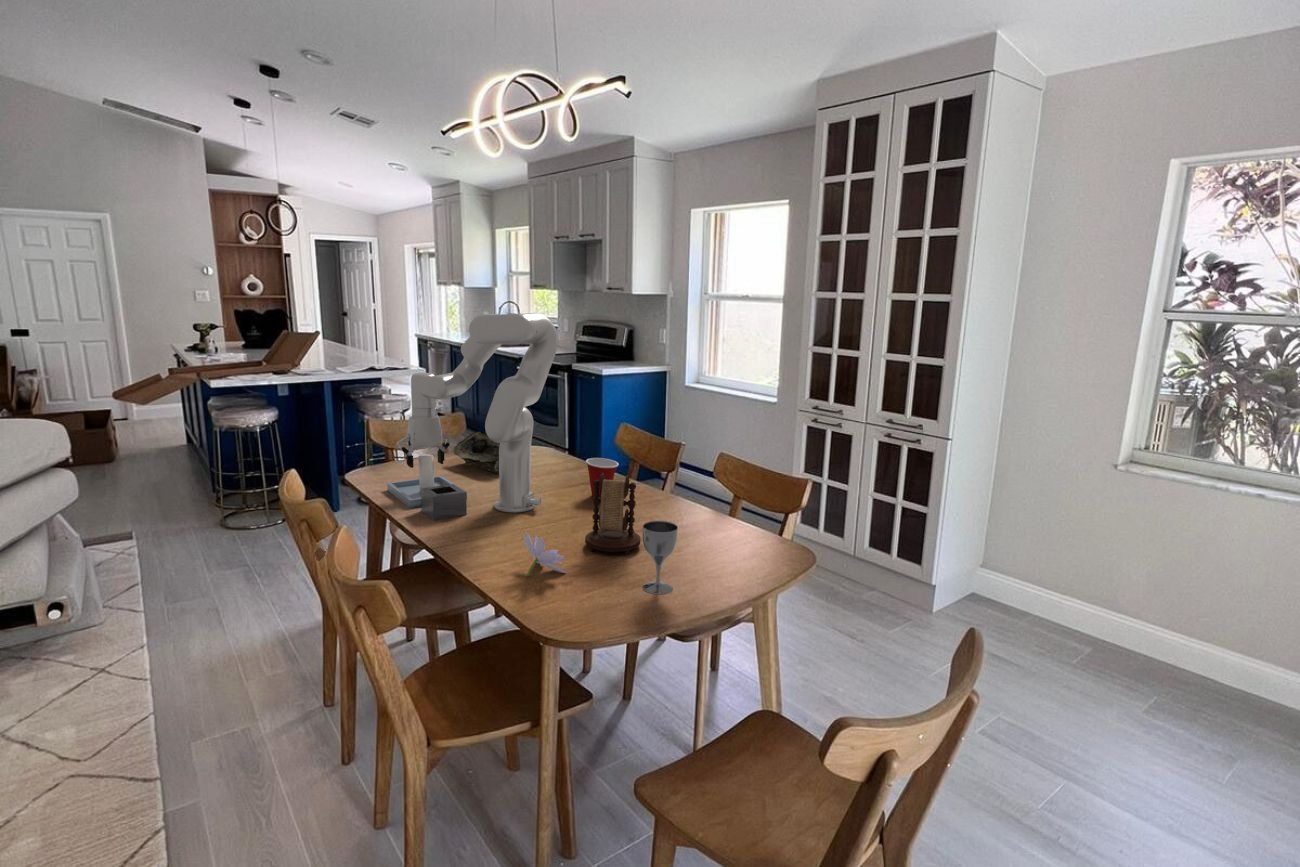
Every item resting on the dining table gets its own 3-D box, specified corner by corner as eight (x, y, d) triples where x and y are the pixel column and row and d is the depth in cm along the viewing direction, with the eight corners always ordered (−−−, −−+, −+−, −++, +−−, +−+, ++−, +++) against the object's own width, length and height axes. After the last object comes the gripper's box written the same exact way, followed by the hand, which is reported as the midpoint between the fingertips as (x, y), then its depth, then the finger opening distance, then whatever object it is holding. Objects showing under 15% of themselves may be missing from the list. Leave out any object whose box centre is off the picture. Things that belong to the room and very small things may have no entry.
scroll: (579, 554, 178) (580, 479, 174) (591, 535, 192) (593, 465, 188) (635, 559, 176) (638, 484, 172) (644, 539, 191) (646, 469, 186)
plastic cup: (616, 501, 223) (617, 465, 221) (583, 500, 223) (584, 464, 221) (618, 492, 234) (619, 457, 231) (587, 490, 234) (587, 456, 231)
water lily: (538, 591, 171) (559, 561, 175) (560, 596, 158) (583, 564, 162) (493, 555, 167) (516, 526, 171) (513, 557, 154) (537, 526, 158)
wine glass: (673, 580, 164) (676, 521, 161) (675, 595, 156) (679, 532, 153) (640, 580, 164) (642, 520, 161) (640, 594, 156) (643, 531, 153)
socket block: (466, 514, 205) (466, 492, 204) (433, 520, 199) (433, 497, 198) (453, 505, 213) (453, 483, 211) (421, 510, 207) (420, 488, 205)
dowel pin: (436, 493, 222) (435, 456, 219) (422, 495, 219) (421, 458, 217) (431, 489, 225) (430, 454, 223) (417, 491, 223) (416, 455, 220)
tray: (466, 499, 219) (466, 491, 219) (410, 508, 209) (410, 500, 208) (441, 482, 236) (440, 475, 236) (387, 490, 226) (387, 482, 225)
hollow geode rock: (507, 489, 248) (532, 456, 253) (485, 469, 240) (511, 436, 244) (468, 470, 268) (492, 440, 272) (446, 451, 259) (471, 420, 264)
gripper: (446, 408, 225) (447, 459, 229) (392, 412, 215) (394, 465, 218) (455, 412, 219) (456, 464, 223) (400, 416, 209) (402, 471, 212)
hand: (425, 465), depth 220 cm, fingers open, 9 cm apart
